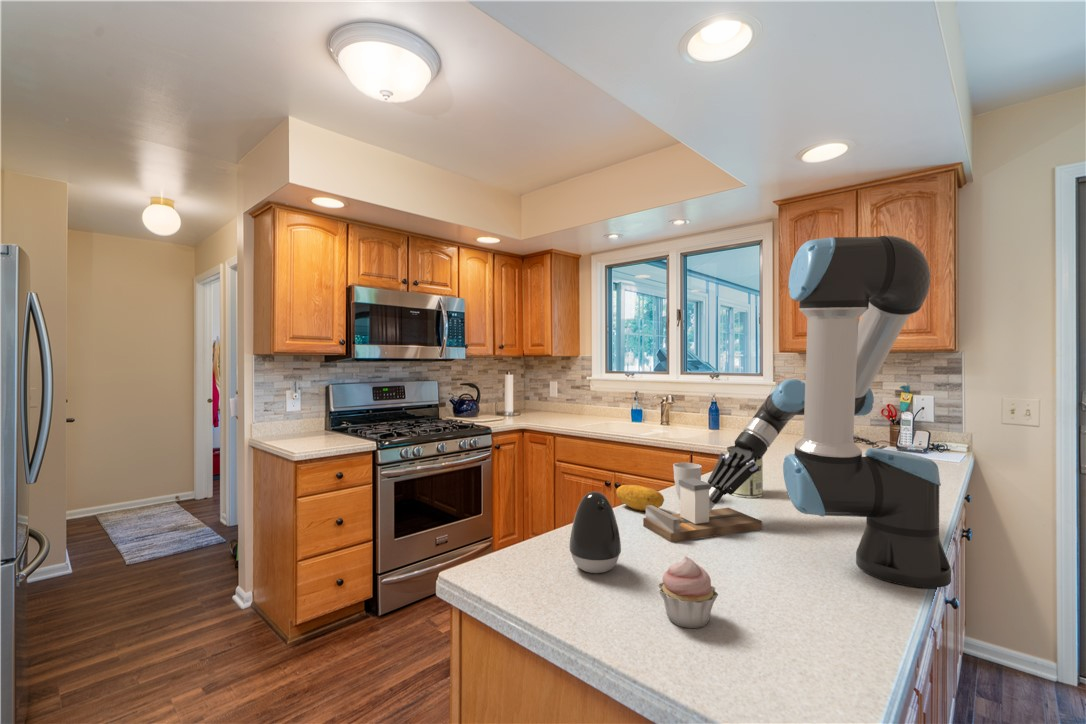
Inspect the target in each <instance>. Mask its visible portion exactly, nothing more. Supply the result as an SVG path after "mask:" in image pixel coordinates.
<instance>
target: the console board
mask: <svg viewBox="0 0 1086 724" xmlns="http://www.w3.org/2000/svg"><path fill="white" fill-rule="evenodd" d="M642 520H643V521H642V522H643V527H644V528H646V529H648V530H649V531H651V532H653V533H654V534H656V535H658V536H660V537H661V538H662V539H664V540H666V541H668V542H669V543H675V542H683V541H688V540H690V541H691V540H696V539H702V538H703V539H704V538H711V537H717V536H723V535H731V534H738V533H746V532H752V530H753V531H758V529H760V530H763V521H762V520H761V519H759V518H755V517H753V516H750V515H749V514H746V513H744V512H741V511H738V510H736V509H734V508H731V507H723V508H722V507H721V508H715V509H714V508H712V509H711V511H710V512H709V522H706V523H698V524H694V523H692V522H690V521H688V520H686V519H684V518H682V517H680V513H673V514H670V513H668V512H666V511H664V510H662V509H660V508H656V507H654V506H652V505H647V506H646V511H645V517H643V518H642Z"/></svg>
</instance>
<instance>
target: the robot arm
mask: <svg viewBox="0 0 1086 724" xmlns="http://www.w3.org/2000/svg"><path fill="white" fill-rule="evenodd" d="M793 257H794V258H793V260H792V263H791V266H790V270H789V276H788V290H789V292H788V293H789V296H790V299H792V300H793V301H796V302H799V305H798V308H799V309H798V310H799V312H800V313H802V314H803V315H804V316H805V317H806V318H807V324H806V349H805V350H806V352H805V355H806V356H805V357H806V358H805V381H801V380H799V379H796V378H790V379H785V380H783V381H782V382H781V383H780V384H778V385H777V386H776V387H775V388H774V389H773V391H772V392H771V393H769V395H768V396H767V397H766V398H765V400H764V402H763V403H762V404H761V406H760V407H759V408H758V410H757V411H756V412H755V414H754V415H753V416H752V418H751V419H750V420H749V422H748V423H747V424H746V425H745V427H744V428H742V429H743V431H741V433H740V434H738V436H737V437H736V439H735V440H734V446H735V448H734V449H732V450H731V451H730V452H729V454H727V453H726V454H724V453H723V452H721V453H720V454H718V459H717V460H718V461H717V462H716V464H715V466H714V468H713V470H712V472H711V474H710V476H709V477H708V480H707V483H709V484H711V489H709V512H710V511H711V510H713V509H714V507H715V505H717V504H718V503H719V502H720V500H721V499H722V498H723V496H725V495H729V496H732V495H731V494H733V493H734V492H735V491H736V490H737V489H738V488H739V487H740V486H741V485H742V484H743V483H744V482H745V481H746V480H747V479H748V478H749V477H750V476H751V475H752V474H754V473H756V472H757V471H759V469H760V468H759V467H758V466H757V465H756V461H757V460H760V459H761V458H762V459H763V456H764V455H765V454H766V452H768V448H770V447H771V446H772V444H773V443H774V442H775V440H776V438H777V437H778V436H779V434H780V433H781V432H782V430H783V429H784V428H785V427H786V426H787V424H788V423H789V422H790V421H791V420H792V419H793V418H794V417H795V416H803V436H802V438H801V439H799V440H798V441H796V442H795V443H794V454H793V453H790V454H787V455H786V456H784V460H783V463H782V471H783V479H784V484H785V489H786V491H787V495H788V497H789V500H790V502H791V503H792V505H793V506H794V508H795V509H796V511H798V512H799V513H801V514H804V515H813V516H819V517H849V518H850V517H853V518H854V517H855V518H856V517H857V518H866V521H865V522H866V523H865V525H866V526H865V529H864V531H863V534H862V537H861V539H860V541H859V544H858V547H857V549H856V552H855V563H856V566H857V567H858V568H859V569H860V570H862V571H863V572H865V573H866V574H868V575H870V576H872V577H875V578H878V579H880V580H883V581H887V582H891V583H894V584H898V585H902V586H903V585H904V586H907V587H914V588H925V589H938V588H943V587H946V586H947V587H948V586H949V585H950V584H951V583H952V568H951V565H950V563H949V560H948V558H947V554H946V552H945V549H944V546H943V544H942V541H941V537H940V487H941V484H942V483H941V479H940V471H939V466H938V464H937V463H936V462H935V461H934V460H932V459H929V458H927V457H924V456H921V455H916V454H912V453H907V452H901V451H896V450H890V449H884V448H874V447H873V448H867V449H866V452H865V453H864V455H865V456H863V451H862V449H861V448H860V447H859V446H858V445H857V444H856V443H855V441H854V433H855V432H854V431H855V430H854V429H855V417H857V416H867V415H868V414H870V413H871V412H872V410H873V407H874V405H873V404H874V403H875V401H874V400H875V398H874V397H875V396H874V393H873V391H872V389H871V386H872V384H873V382H874V380H875V378H877V375H878V373H879V372H880V370H881V368H882V366H883V364H884V362H885V361H886V359H887V357H888V355H889V354H890V351H891V350H892V347H893V346H894V344H895V342H896V340H897V338H898V337H899V336H900V334H901V331H902V330H903V328H904V326H905V324H906V323H907V321H908V319H909V318H910V316H911V315H914V314H916V313H918V312H919V311H920V310H921V308H922V306H923V305H924V302H925V301H926V299H927V296H928V294H929V291H930V288H931V287H930V285H931V270H930V265H929V263H928V260H927V258H926V257H925V255H924V253H923V252H922V251H921V250H920V248H919V247H917V246H916V245H915V244H914V243H912V242H911V241H909V240H907V239H905V238H902V237H899V236H893V235H881V236H845V237H844V236H843V237H841V236H839V237H837V236H836V237H835V236H834V237H825V238H823V237H822V238H816V239H810V240H807V241H806V242H804V243H803V244H802V245H801V246H800V247H799V248H798V250H797V251H796V253H795V256H793ZM859 318H860V319H859ZM730 488H731V489H730Z"/></svg>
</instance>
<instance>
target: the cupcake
mask: <svg viewBox="0 0 1086 724" xmlns="http://www.w3.org/2000/svg"><path fill="white" fill-rule="evenodd" d="M657 586H658V588H659V589H658V592H659V594H660V596H661V598H662V600H663V604H664V608H665V609H664V610H665V612H666V613H665V614H666V616H667V618H668V619H669V621H670V622H671V623H672V624H674V625H676V626H679V627H682V628H687V629H699V628H703V627H704V626H706V625H707V623H709V619H710V616H711V612H712V608H713V606H714V603H715V601H716V599H717V598H718V596H719V593H718V592H716V589H717V587H715V586H713V585H712V580H711V577H710V575H709V573H708V572H707V571H706V570H705V569H704V568H703V567H702V566H701V565H699V564H697V563H696V561H694V560H693V559H691V557H688V556H687V555H684V557H683V560H682V561H680V562H679V561H678V562H677V563H673V564H671V565H670V566H669V567H668V570H666V571H665V572H664V573H663V575H662V582H659V583H657Z"/></svg>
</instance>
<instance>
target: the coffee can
mask: <svg viewBox="0 0 1086 724" xmlns="http://www.w3.org/2000/svg"><path fill="white" fill-rule="evenodd" d="M734 448H735V445H731V446H727V447H726V451H727V453H726V454H729V452H730V451H731V450H732V449H734ZM756 465H757V466H758V467H759V468H760V469H759V471H757V472H756V473H754V474H752V475H751V476H750V477H749V478H748V479H747V480H746V481H745V482H744V483H743V484H742V485H741V486H740V487H739V488H738V489H737V490H736V491H735V492H734V493H733V494H731V495H730V496H733V495H734V496H733V497H736V496H738V497H737V498H742V497H746V498H745V499H758V498H757V497H759V498H761V497H762V498H763V496H764V493H763V491H764V490H763V487H764V485H763V481H764V480H763V479H764V477H763V476H764V475H763V471H764V470H763V466H764V465H763V457H762V458H761V459H760V460H757V461H756ZM730 489H731V488H730Z"/></svg>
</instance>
